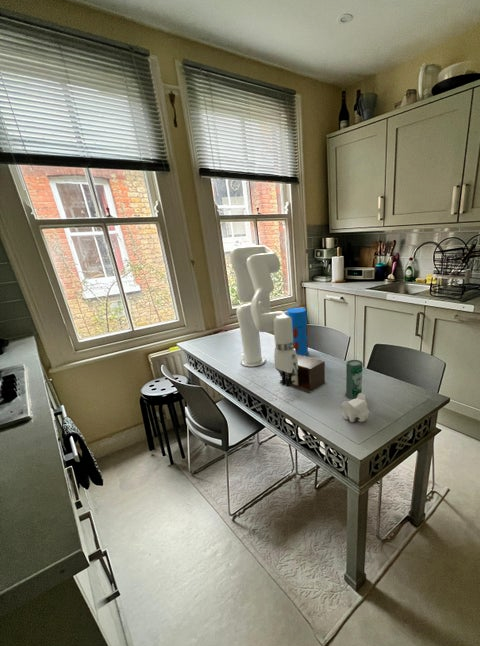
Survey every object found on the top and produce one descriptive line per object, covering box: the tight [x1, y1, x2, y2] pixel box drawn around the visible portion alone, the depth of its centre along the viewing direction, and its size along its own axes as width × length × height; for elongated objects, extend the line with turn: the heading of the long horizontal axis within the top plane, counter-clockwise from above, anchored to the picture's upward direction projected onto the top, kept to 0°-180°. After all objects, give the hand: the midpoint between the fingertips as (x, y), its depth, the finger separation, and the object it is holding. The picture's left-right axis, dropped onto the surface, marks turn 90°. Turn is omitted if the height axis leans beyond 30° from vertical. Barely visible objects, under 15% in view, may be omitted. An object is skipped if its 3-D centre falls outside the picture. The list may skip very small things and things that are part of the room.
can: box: [345, 359, 364, 400], centre depth 131 cm, size 6×6×15 cm
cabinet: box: [279, 354, 326, 394], centre depth 144 cm, size 17×12×11 cm
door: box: [285, 370, 298, 388], centre depth 140 cm, size 7×6×9 cm
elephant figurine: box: [340, 392, 374, 423], centre depth 116 cm, size 10×12×9 cm
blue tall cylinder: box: [286, 307, 309, 356], centre depth 176 cm, size 11×11×25 cm
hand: (287, 384), depth 139 cm, fingers closed
